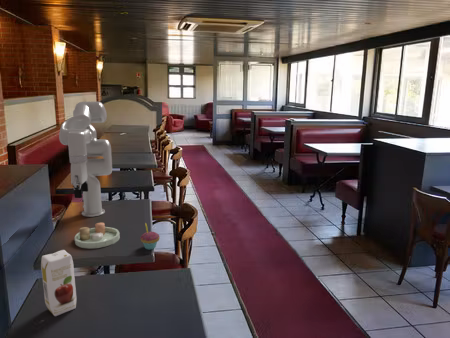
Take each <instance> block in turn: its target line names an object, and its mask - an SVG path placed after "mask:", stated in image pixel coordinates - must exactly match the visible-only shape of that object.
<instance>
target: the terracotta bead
mask: <svg viewBox="0 0 450 338" xmlns="http://www.w3.org/2000/svg"><path fill="white" fill-rule="evenodd" d="M94 226H95V227H94V228H95V230H96V233H103V235H104V234H105V227H106V226H105V222H97V223H95V224H94Z"/></svg>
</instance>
